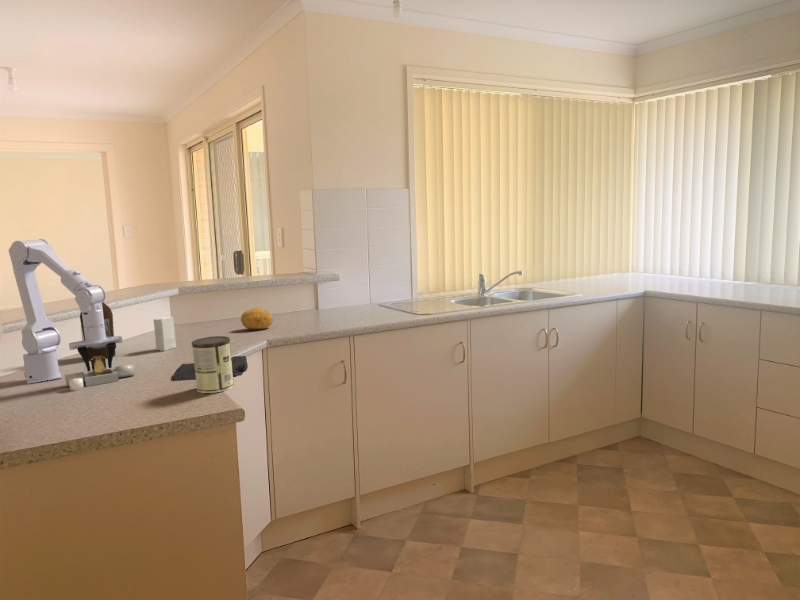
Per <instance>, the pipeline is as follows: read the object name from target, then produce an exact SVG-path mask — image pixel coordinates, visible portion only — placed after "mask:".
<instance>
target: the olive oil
mask: <svg viewBox="0 0 800 600" xmlns="http://www.w3.org/2000/svg"><path fill="white" fill-rule="evenodd" d="M102 309H103V317H104V325H105V333H106V337H115V333H114V332H115V331H114V316H113V315H114V314H113V311H112V309H111V308H110V307H109V305H107V304H106V303H105V301H104V302H102ZM79 320H80V325H81V331H82V336H83V340H85V334H84V326H83V318H82V312H81V311H80V314H79ZM100 344H101V343H100ZM91 345H94V344H91ZM86 348H87V351H88V359H93V357H94V356H103V357H105V358H106V359H108V356H107V349H106V345H100V346H93V347H86ZM115 356H116V351H115V352H114V355H113V357H115Z"/></svg>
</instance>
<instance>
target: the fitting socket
mask: <svg viewBox="0 0 800 600" xmlns="http://www.w3.org/2000/svg"><path fill="white" fill-rule="evenodd" d="M132 376H135V368H134V364H133V363H131V364H130V363H129V364H124V365H118V366H114V367H112V368H109V367H107V374H104V375H98V376H93V373H92V370H90V371H80V372H74V373H69V374H64V380H65V387H70V386H69V380H70V379H74V378H83V385H85V387H86V388H87V387H91V386H98V385H103V384H108V383H109V384H111V383H115V382H119V381H120V380H119V379H121V378H126V377H132Z"/></svg>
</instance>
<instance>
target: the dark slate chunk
mask: <svg viewBox="0 0 800 600" xmlns="http://www.w3.org/2000/svg"><path fill="white" fill-rule="evenodd" d="M231 361H232V371H233V378H237V377H239V376H243V374H244V373H245V372H247V370H248V367H249V365H248V362H247V361H248V360H247V356H246V355H238V356H236V355H235V356H231ZM171 379H172V381H173V382H177V381H179V382H181V381H182V382H183V381H196V374H195V365H194V362H190V363H182V364H180V365H179V367H178V368H177V369H176V370H175V372H174V373H173V375H172V378H171Z"/></svg>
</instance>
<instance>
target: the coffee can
mask: <svg viewBox="0 0 800 600" xmlns="http://www.w3.org/2000/svg"><path fill="white" fill-rule="evenodd" d="M230 338H231V337H229V336H222V335H219V336H216V335H215V336H208V337H202V338H197V339H195V340H193V341H191V346H192V347H191V348H192V356H193V363H194V365H195V374H196V380H195V382H196V391H197V393H199V394H204V393H210V394H217V392H219V393H223V392H228V391H230V390H231V389H233V388H235V384H234V377H233V371H232V361H231V358H232V352H231V344H230V343H231V342H230V341H231V339H230ZM222 391H223V392H222Z"/></svg>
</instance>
